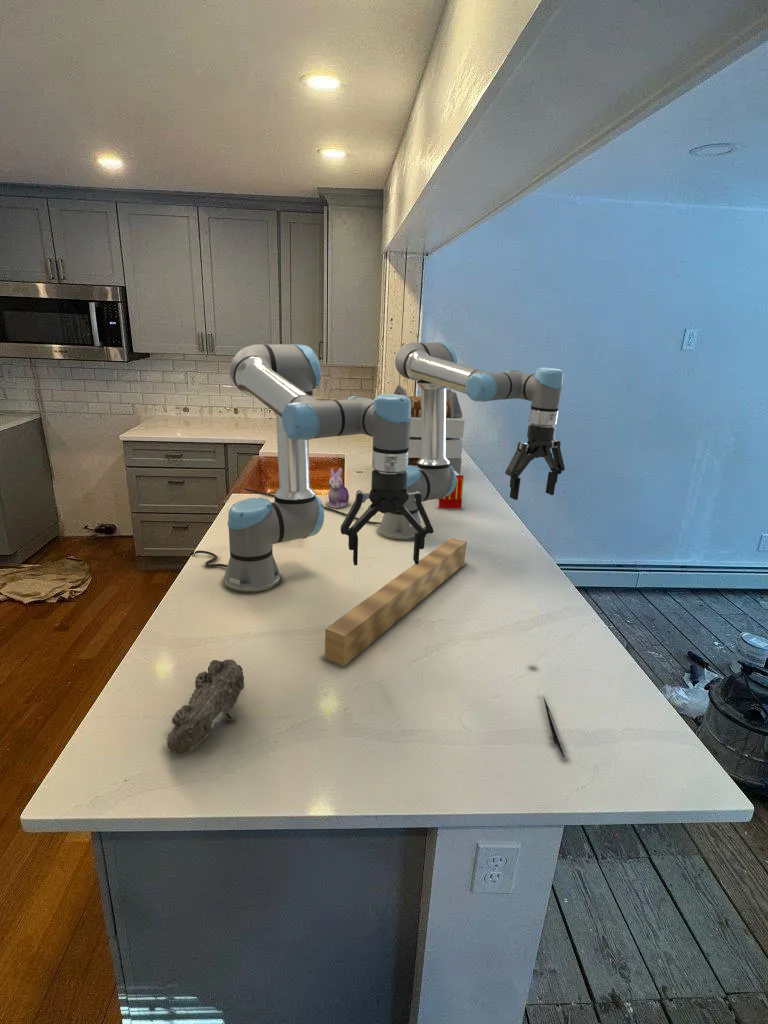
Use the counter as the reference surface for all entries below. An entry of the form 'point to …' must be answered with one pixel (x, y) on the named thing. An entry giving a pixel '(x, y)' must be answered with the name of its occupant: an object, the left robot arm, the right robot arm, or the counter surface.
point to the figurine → (337, 490)
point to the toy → (453, 495)
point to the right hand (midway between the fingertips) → (531, 496)
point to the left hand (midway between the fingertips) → (385, 562)
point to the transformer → (452, 429)
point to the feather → (553, 727)
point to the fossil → (206, 705)
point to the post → (391, 602)
